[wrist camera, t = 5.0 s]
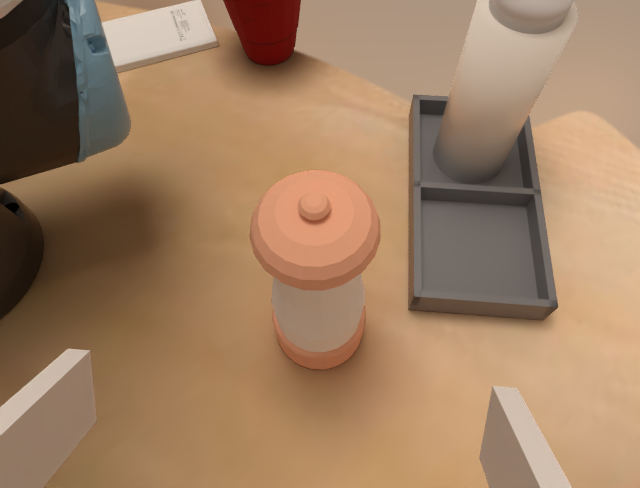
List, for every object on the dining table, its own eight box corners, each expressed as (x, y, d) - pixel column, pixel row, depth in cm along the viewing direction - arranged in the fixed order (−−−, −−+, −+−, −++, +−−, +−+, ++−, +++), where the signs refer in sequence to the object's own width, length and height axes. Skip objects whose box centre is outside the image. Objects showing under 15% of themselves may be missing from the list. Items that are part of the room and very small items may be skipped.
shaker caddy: (408, 309, 41) (414, 296, 39) (409, 115, 51) (413, 94, 49) (543, 320, 41) (558, 307, 38) (516, 121, 51) (527, 100, 48)
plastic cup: (215, 26, 59) (191, -80, 48) (303, 11, 60) (298, -95, 49) (228, 89, 54) (203, -12, 43) (323, 73, 55) (322, -31, 44)
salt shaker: (433, 181, 46) (489, 12, 30) (432, 126, 49) (481, -53, 33) (506, 185, 46) (601, 17, 30) (500, 130, 49) (582, -49, 33)
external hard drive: (103, 33, 59) (202, 8, 61) (114, 78, 55) (219, 50, 57) (97, 21, 58) (199, -4, 60) (108, 66, 54) (216, 38, 56)
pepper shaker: (272, 291, 42) (236, 150, 25) (355, 281, 42) (374, 135, 26) (279, 375, 39) (243, 276, 22) (369, 363, 39) (402, 257, 22)
